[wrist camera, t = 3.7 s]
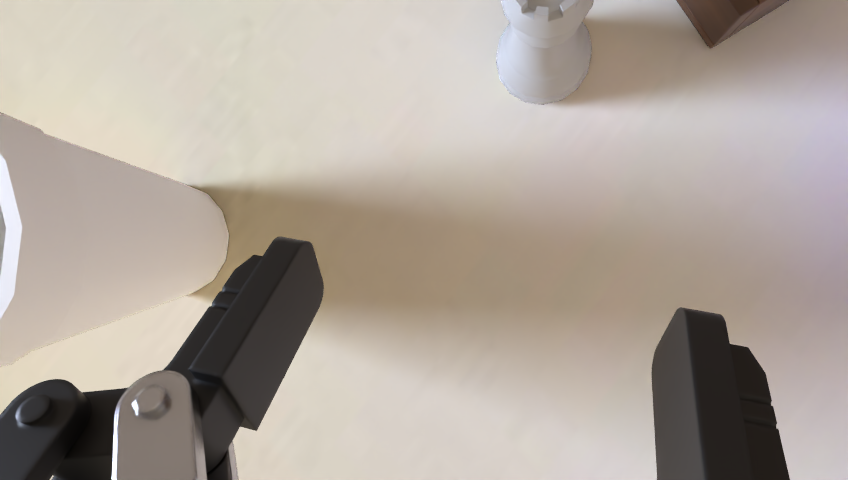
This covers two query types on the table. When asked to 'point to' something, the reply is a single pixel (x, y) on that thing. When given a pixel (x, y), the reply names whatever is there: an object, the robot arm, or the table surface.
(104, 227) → the foam cup
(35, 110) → the table surface
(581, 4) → the rook chess piece
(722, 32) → the compartment tray
